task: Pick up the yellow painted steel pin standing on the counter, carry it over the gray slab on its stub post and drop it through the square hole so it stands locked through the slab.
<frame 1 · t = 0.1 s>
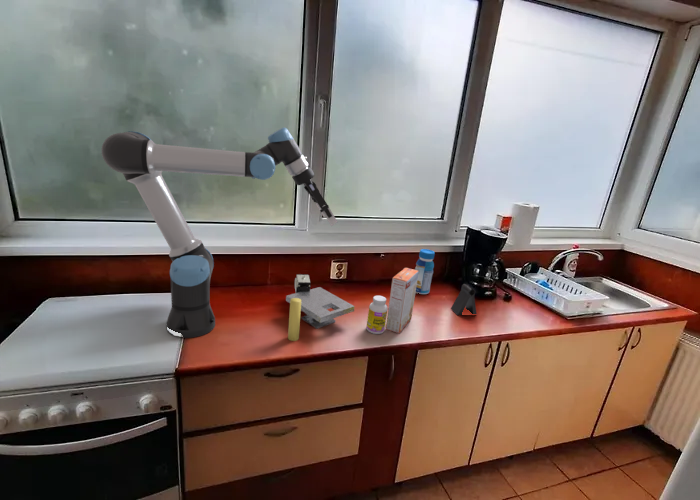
hand: (330, 219, 143), 36 cm above the worktop, tool tilted 35°, fingers open, 13 cm apart
beverage bottle: (420, 291, 179), on the worktop
cracker box: (398, 324, 145), on the worktop
gray slab: (318, 320, 141), on the worktop
pin: (293, 338, 128), on the worktop
pneumatic valve: (300, 303, 153), on the worktop
supplement bottle: (375, 330, 139), on the worktop
phone stand: (463, 312, 161), on the worktop
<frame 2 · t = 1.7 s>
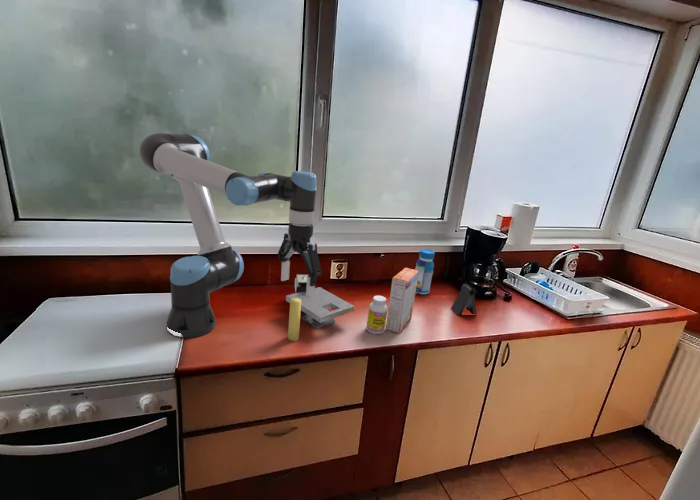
hand: (296, 287, 122), 19 cm above the worktop, tool pointing down, fingers open, 13 cm apart
nothing on the worktop moved.
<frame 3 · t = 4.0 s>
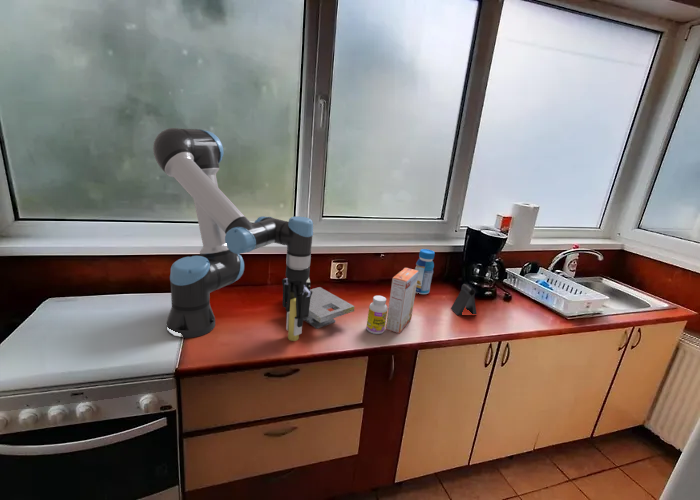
hand: (293, 331, 127), 3 cm above the worktop, tool pointing down, fingers closed on pin, 3 cm apart
pin: (293, 338, 128), on the worktop, touching gripper
everything else where it was.
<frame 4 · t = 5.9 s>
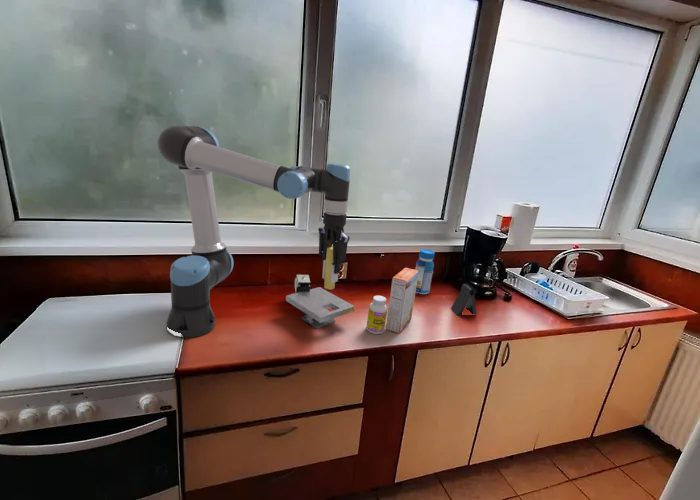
hand: (329, 279, 130), 19 cm above the worktop, tool pointing down, fingers closed on pin, 3 cm apart
pin: (329, 287, 131), point 16 cm above the worktop, touching gripper
everything else where it was.
when the fingers open (10 cm above the worktop, at t = 8.0 s): pin drops 5 cm, resting on gray slab.
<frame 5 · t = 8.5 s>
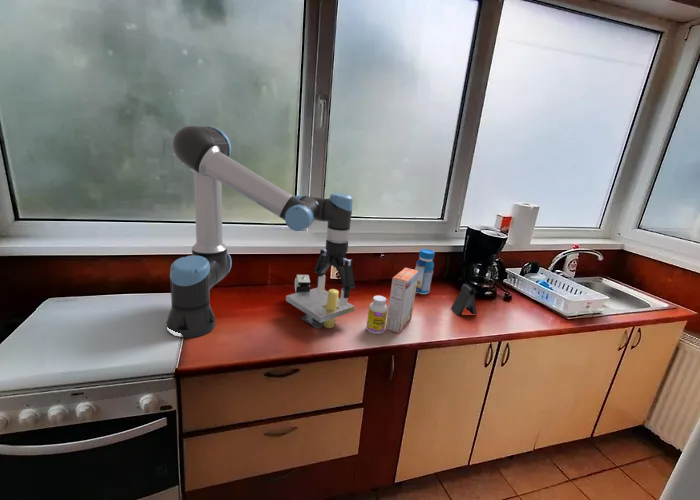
hand: (331, 299, 134), 11 cm above the worktop, tool pointing down, fingers open, 11 cm apart
pin: (328, 325, 137), point 1 cm above the worktop, tilted 6°, touching gray slab
everything else where it was.
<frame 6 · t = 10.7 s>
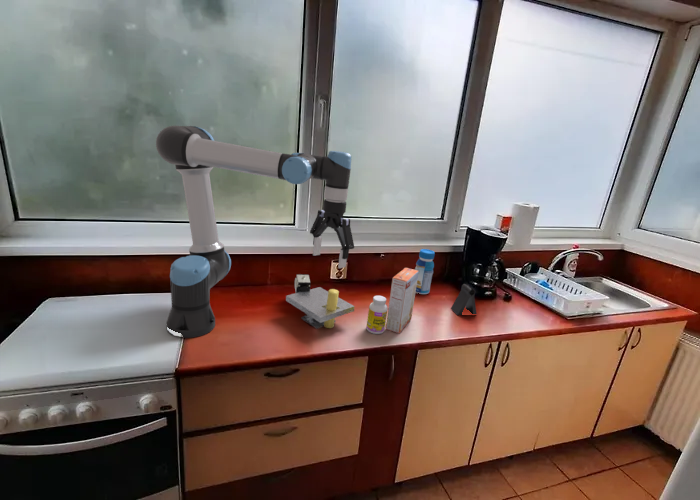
hand: (328, 260, 130), 25 cm above the worktop, tool pointing down, fingers open, 13 cm apart
nothing on the worktop moved.
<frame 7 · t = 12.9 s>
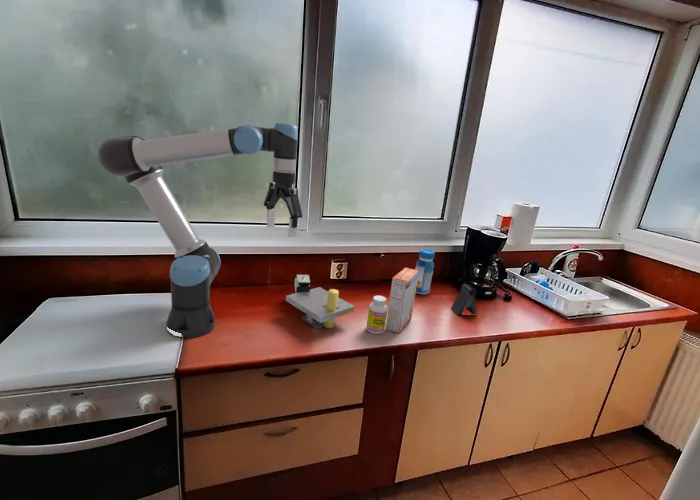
hand: (281, 231, 135), 32 cm above the worktop, tool pointing down, fingers open, 13 cm apart
nothing on the worktop moved.
at the end: pin 0.1 cm from the target spot on the gray slab, point 0.7 cm above the gray slab's base; pin tilted 6°; the gripper is holding nothing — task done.
